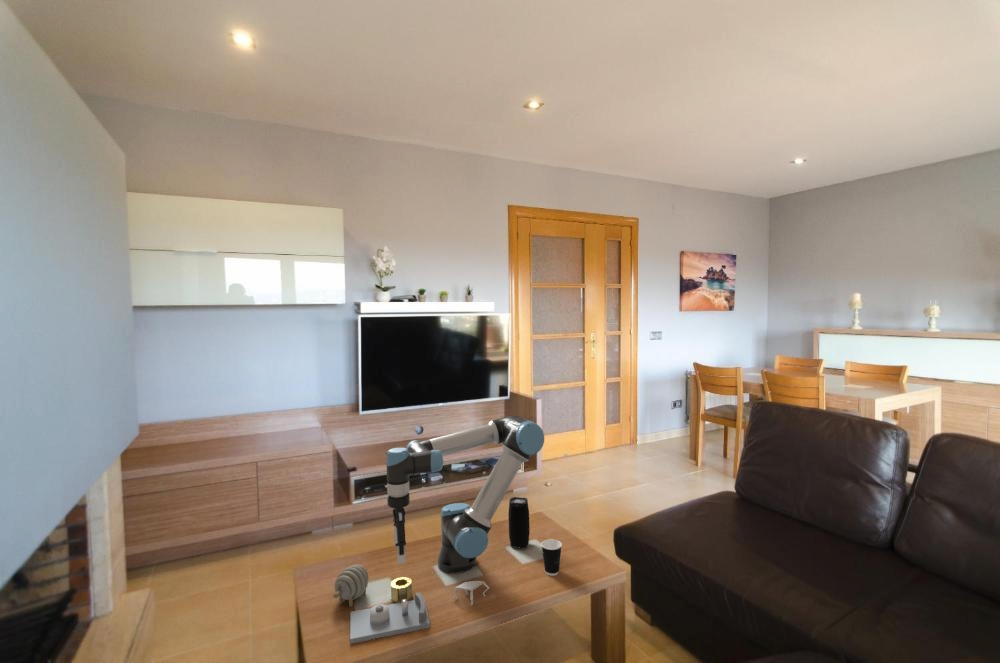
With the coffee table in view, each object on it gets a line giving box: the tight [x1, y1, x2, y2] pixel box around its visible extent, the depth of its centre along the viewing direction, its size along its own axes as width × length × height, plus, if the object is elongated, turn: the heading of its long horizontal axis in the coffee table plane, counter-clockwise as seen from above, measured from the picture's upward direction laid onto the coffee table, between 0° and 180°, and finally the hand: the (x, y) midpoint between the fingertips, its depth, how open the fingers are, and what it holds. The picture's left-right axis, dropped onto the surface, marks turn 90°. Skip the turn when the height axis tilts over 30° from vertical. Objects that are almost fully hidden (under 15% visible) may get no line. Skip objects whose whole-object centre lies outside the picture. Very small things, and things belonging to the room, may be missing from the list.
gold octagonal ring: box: [390, 576, 413, 603], centre depth 171 cm, size 7×7×5 cm
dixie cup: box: [540, 538, 563, 577], centre depth 184 cm, size 8×8×11 cm
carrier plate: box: [349, 591, 431, 644], centre depth 157 cm, size 24×14×5 cm, turn 106°
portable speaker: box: [508, 496, 531, 550], centre depth 206 cm, size 9×9×20 cm
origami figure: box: [452, 580, 490, 606], centre depth 169 cm, size 12×8×5 cm
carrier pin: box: [402, 599, 409, 616], centre depth 158 cm, size 2×2×4 cm
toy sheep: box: [333, 564, 370, 608], centre depth 169 cm, size 11×17×11 cm, turn 165°
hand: (399, 553), depth 170 cm, fingers open, 13 cm apart
